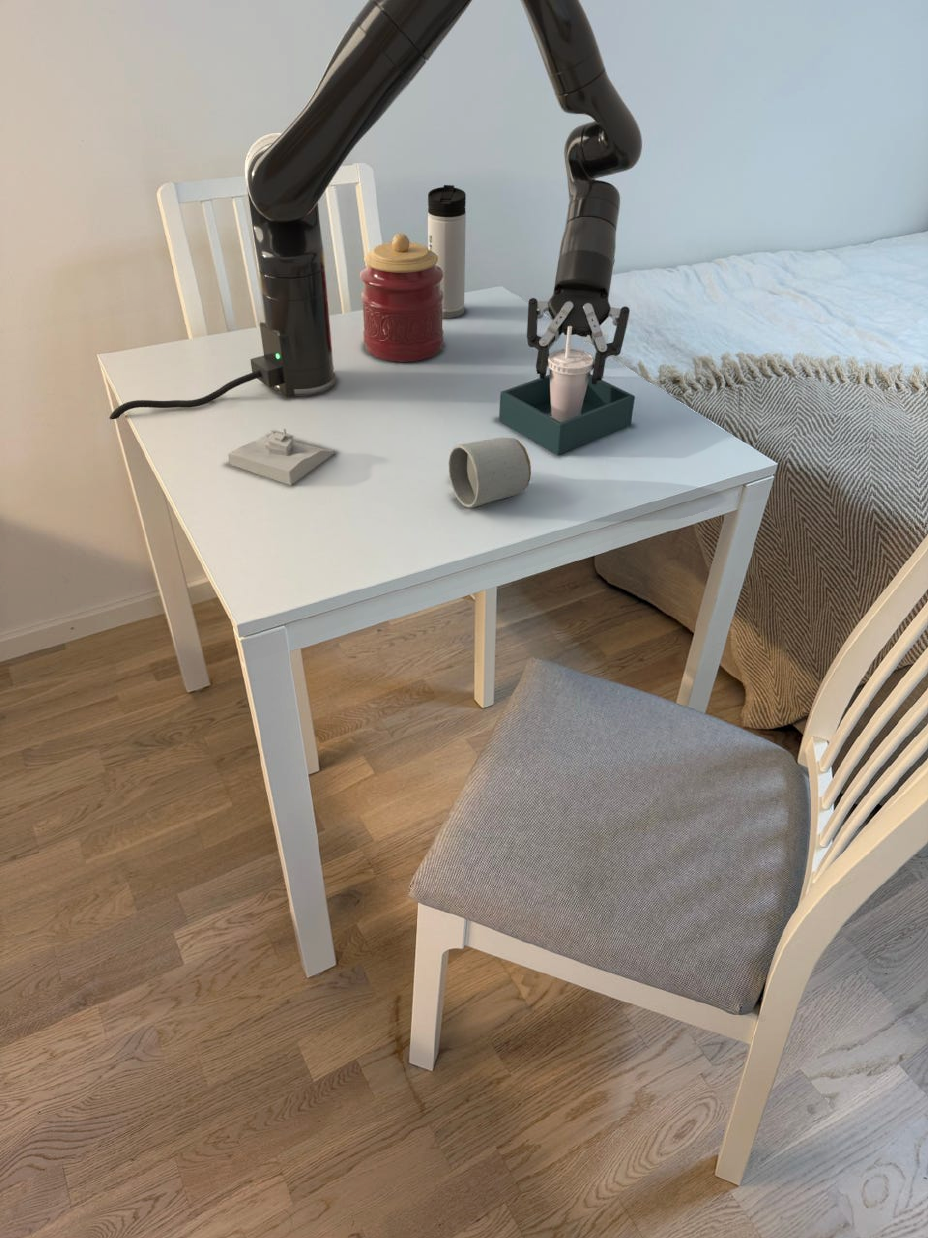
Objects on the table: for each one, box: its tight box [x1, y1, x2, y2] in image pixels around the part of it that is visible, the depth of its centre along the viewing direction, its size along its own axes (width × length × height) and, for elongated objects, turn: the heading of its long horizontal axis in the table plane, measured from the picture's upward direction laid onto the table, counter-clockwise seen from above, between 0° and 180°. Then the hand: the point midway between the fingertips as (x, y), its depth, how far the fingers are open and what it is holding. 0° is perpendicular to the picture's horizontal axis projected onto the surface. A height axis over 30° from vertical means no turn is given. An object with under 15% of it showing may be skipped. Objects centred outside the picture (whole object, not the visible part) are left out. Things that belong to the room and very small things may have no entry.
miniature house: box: [227, 428, 335, 486], centre depth 115 cm, size 12×11×4 cm
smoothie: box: [547, 326, 595, 422], centre depth 121 cm, size 6×6×14 cm
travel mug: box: [427, 184, 467, 319], centre depth 150 cm, size 6×7×20 cm
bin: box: [498, 373, 636, 456], centre depth 124 cm, size 14×12×4 cm
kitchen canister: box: [359, 233, 444, 363], centre depth 139 cm, size 13×13×18 cm
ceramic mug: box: [448, 437, 532, 509], centre depth 109 cm, size 11×8×8 cm
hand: (568, 379), depth 119 cm, fingers closed on smoothie, 6 cm apart
